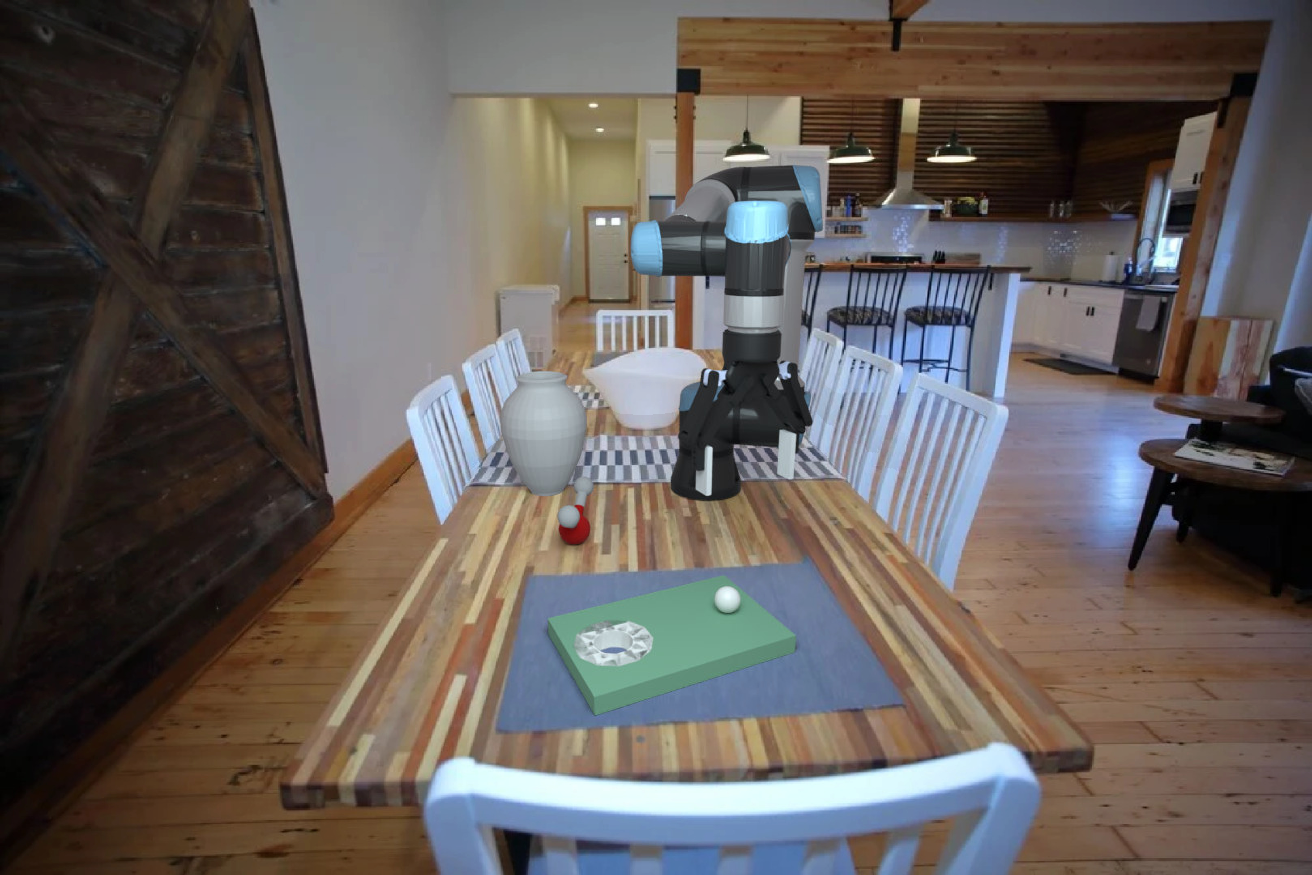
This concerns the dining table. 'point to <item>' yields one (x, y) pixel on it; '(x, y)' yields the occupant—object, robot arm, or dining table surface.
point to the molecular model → (576, 514)
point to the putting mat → (664, 642)
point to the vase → (544, 431)
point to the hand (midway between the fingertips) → (745, 484)
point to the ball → (727, 599)
